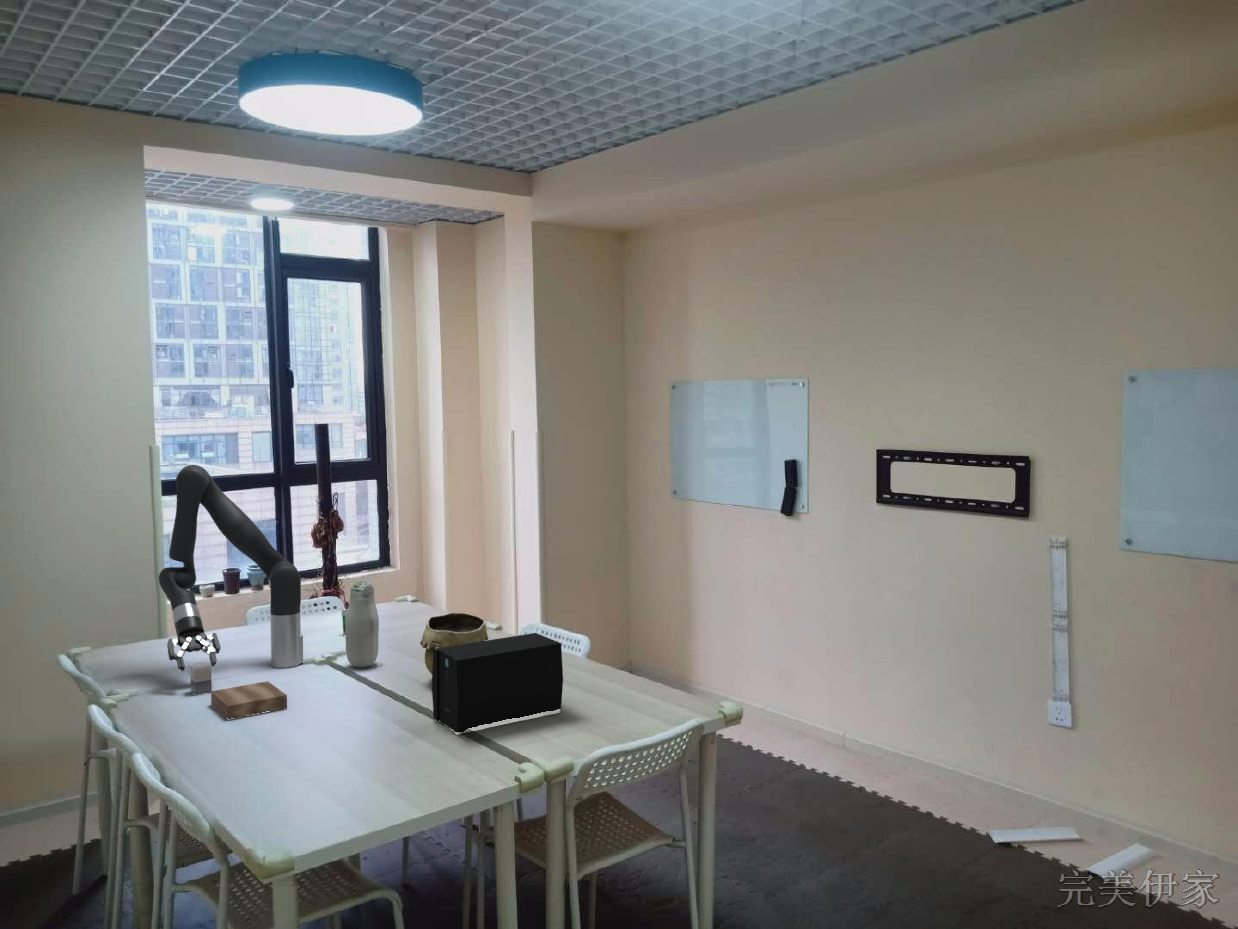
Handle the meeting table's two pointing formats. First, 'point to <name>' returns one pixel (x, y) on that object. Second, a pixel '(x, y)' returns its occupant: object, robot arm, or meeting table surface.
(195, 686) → the block
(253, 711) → the walnut stand
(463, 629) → the clay pot
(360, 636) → the grey bottle
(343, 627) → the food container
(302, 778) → the meeting table surface
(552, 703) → the uninterruptible power supply
